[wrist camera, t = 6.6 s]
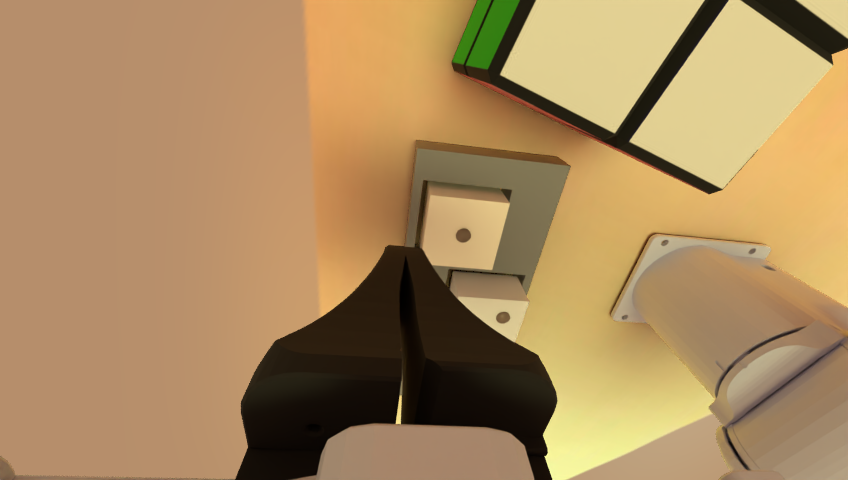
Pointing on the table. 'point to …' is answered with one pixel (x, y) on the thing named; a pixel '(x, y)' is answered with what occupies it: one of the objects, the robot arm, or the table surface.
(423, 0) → the table surface
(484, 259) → the tile one
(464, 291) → the tile two
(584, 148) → the table surface
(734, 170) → the puzzle cube
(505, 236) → the tile board
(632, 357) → the table surface
